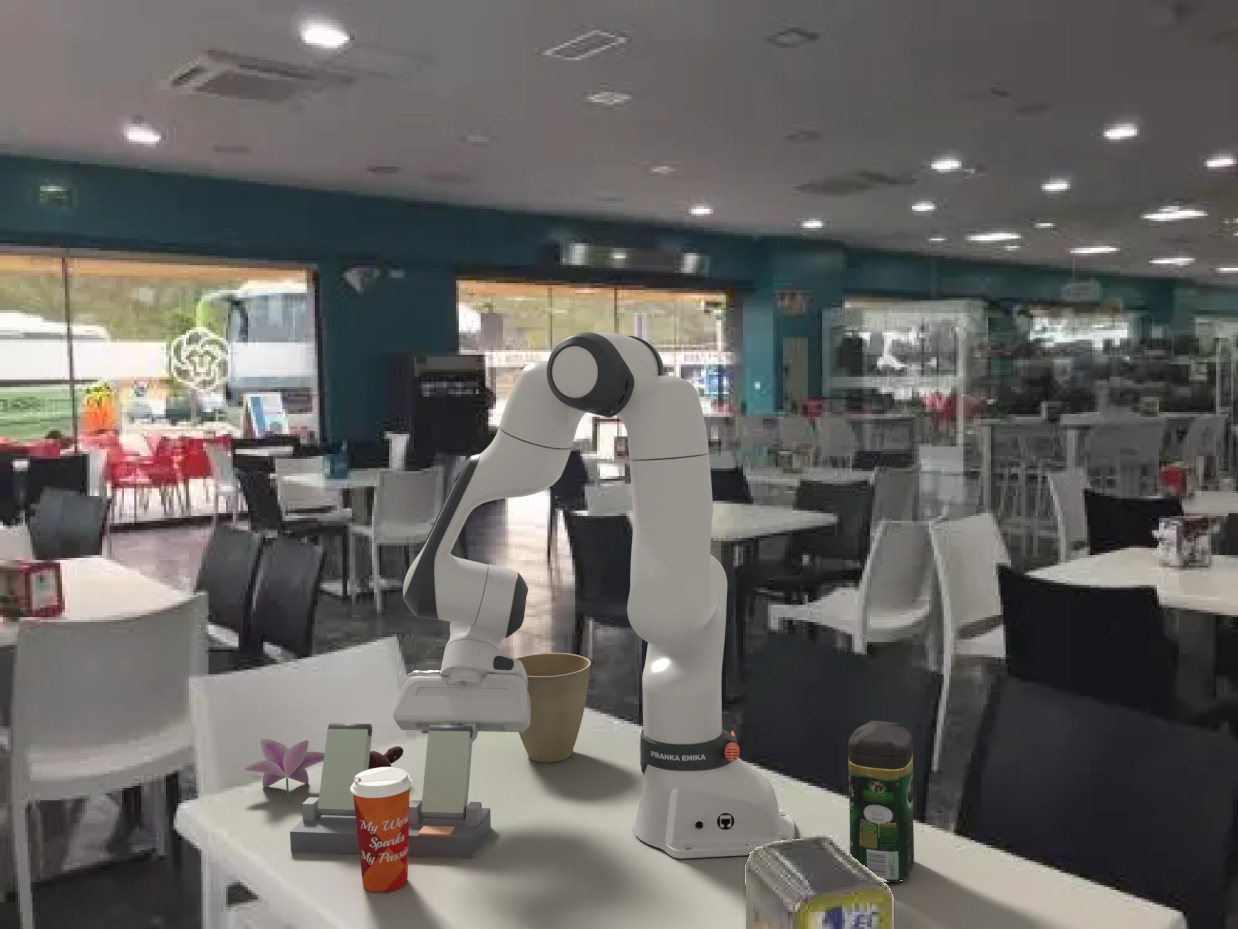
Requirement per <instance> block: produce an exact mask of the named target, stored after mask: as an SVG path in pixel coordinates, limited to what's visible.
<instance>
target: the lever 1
mask: <svg viewBox="0 0 1238 929" xmlns="http://www.w3.org/2000/svg"><path fill="white" fill-rule="evenodd" d="M326 732H327V733H326V739H325V746H324V748H325V749H324V753H325V754H324V761H322V762H323V763H322V772H321V778H320V779H321V780H320V788H319V795H318V796H319V797H318V798H319V801H318V814H319V815H331V816H355V807H354V797H353V794H352V793H351V791H350V788H351V786H352V784H353V781H354V778H355V776H356V775H357V774H359V773H361V772H363V771H366V770H368V766H369V757H370V751H371V747H372V739H373V725H372V724H371V723H343V722H342V723H339V722H338V723H337V722H333V723H332V722H330V723H328V726H327V731H326Z"/></svg>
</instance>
